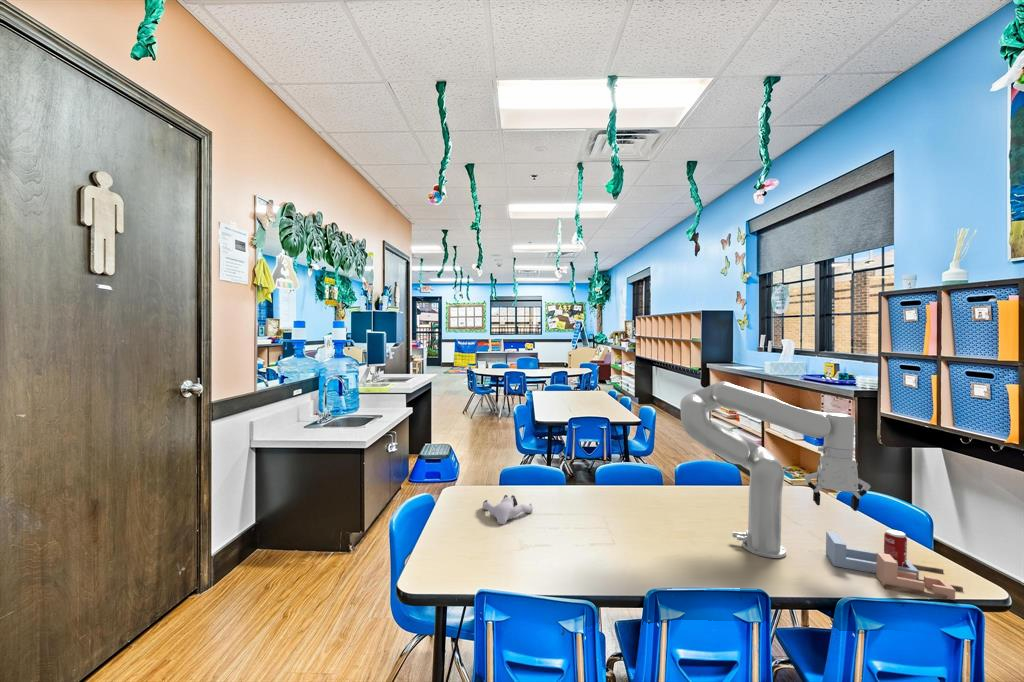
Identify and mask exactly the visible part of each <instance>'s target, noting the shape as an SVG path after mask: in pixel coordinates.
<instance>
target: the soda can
mask: <svg viewBox="0 0 1024 682" xmlns="http://www.w3.org/2000/svg"><path fill="white" fill-rule="evenodd" d="M906 534H907V533H905V532H903V531H900V530H896V529H892V528H891V529H890V528H888V529H886V530H885V532H884V534H883V535H884V538H883V540H884V541H883V553H884V554H890V555H891V556H892V558H893V559H894V560H895V561H896V562H897V563H898V566H900V567H906V559H907V556H908V555H907V553H908V552H907V551H908V538H907V535H906ZM907 560H908V559H907Z"/></svg>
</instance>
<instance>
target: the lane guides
mask: <svg viewBox="0 0 1024 682" xmlns="http://www.w3.org/2000/svg"><path fill="white" fill-rule="evenodd" d="M911 564H912V565H913V566H914V567H915V568H916V569H917V570H921V571H922V570H924V571H929V572H935V573H941V574H944V569H943V568H938V567H932V566H926V565H920V564H914V563H911ZM917 580H918V581H923V582H924V579H921V578H919V579H917ZM950 585H951V586H952V587H953V588H954V589H955V591H959V590H961V591H960V592H964V587H963V586H959V585H953V584H950ZM883 586H884V589H887V590H891V591H896V592H903V593H907V594H912V595H917V596H923V597H928V598H934V599H939V600H945V601H948V599H947V596H946V595H941V594H936V593H932V592H930V591H929V592H928V591H925V590H924V591H920V590H914V589H909V588H903V587H898V586H893V585H887V584H885V585H883Z"/></svg>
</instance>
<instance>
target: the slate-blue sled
mask: <svg viewBox="0 0 1024 682" xmlns="http://www.w3.org/2000/svg"><path fill="white" fill-rule="evenodd" d="M825 532H826V534H825V537H826V538H825V553H826V554H825V555H827V557H828V559H829V560H830V562H831V563H832V565H833V567H839V568H845V569H851V570H855V571H861V572H867V573H871V574H872V573H873V574H876V568H877V552H876V551H870V550H866V549H865V550H864V549H858V548H852V547H847V544H846V543H845V541H844V540H843V539H842V537H841V535H839V533H838V532H833V531H827V530H826V531H825ZM912 564H913V563H911V561H910V560H909V559H906V567H900V566H898V570H899V571H905V572H911V573H915V574H916V575H917V579H920V578H919V576H920V574H919V573H920V572H919V569H916V568H915V567H914V566H913V565H912Z"/></svg>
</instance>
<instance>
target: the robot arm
mask: <svg viewBox="0 0 1024 682" xmlns="http://www.w3.org/2000/svg"><path fill="white" fill-rule="evenodd" d="M679 405H680V422H681V425H682V428H683V430H684V432H685V433H686V434H687V435H688V436H689V437H690V438H691V439H692V440H694V441H695V442H696V443H698V444H700V445H701V446H703V447H705V448H706V449H708V450H709V451H710V452H712V453H714V454H716V455H718V456H719V457H721V458H722V459H723V460H725V461H726V462H728V463H730V464H733V465H740V466H742V467H743V468H744V469H746V470H748V471H749V476H750V477H749V486H748V515H747V516H748V517H747V529H746V530H745V531H743V532H738V531H735V530H732V535H731V536H732V538H736V540H737V541H742V543H741V544H742V545H741V546H742V547H743V548H744V549H745V550H747V551H748V552H749V553H751V554H754V555H757V556H758V557H759V556H760V557H764V558H769V559H780V558H784V557H785V556H786V555H787V550H786V548H785V547H784V546H783V545H781V543H782V541H781V540H782V507H783V506H782V505H783V504H782V503H783V502H782V501H783V489H784V487H783V486H784V481H785V471H784V468H783V465H782V463H781V461H780V460H779V459H778V458H777V456H775V455H774V454H773V453H772V452H771V451H770V450H768V449H766V447H763V446H761V445H760V444H758V443H757V442H755V441H752V440H751V439H749V438H748V437H746V436H744V435H742V434H741V433H738V432H736V431H733V430H732V431H731V430H729V431H727V430H725V429H724V428H722V427H721V426H719V425H717V424H715V423H713V422H711V420H709V419H708V416H707V414H708V413H709V412H712V411H714V410H716V409H717V410H718V409H719V408H723V409H727V410H729V411H732V412H735V413H739V414H742V415H746V416H748V417H751V418H754V419H757V420H760V421H762V422H765V423H768V424H772V425H775V426H778V427H781V428H784V429H787V430H789V431H792V432H796V433H798V434H801V435H803V436H807V437H810V438H815V439H821V438H823V445H822V446H818V448H817V451H818V452H821V453H822V454H820V457H819V461H818V464H817V471H816V472H812V473H810V474H805V475H804V476H803V477H804V481H805V482H806V484H807V485H808V487H810V489H811V490H813V492H812V493H813V494H812V495H813V496H812V501H813V502H814V503H815V504H816V505H817V506H820V505H821V492H820V491H821V490H822V489H825V490H826V489H827V490H833V491H839V492H847V493H852V495H851V498H850V499H851V500H850V508H851V509H852V510H853V511H854V512H858V509H859V508H860V499H861V498H862V497H863V496H865V495H867V492H868V491H869V490H870V489H871V487H872V486H871V485H870V483H868V482H866V481H864V480H862V478H859V474H858V473H859V472H858V465H857V459H855V458H853V455H854V439H855V436H854V435H855V419H854V417H853V416H852V415H850V414H846V413H840V412H839V413H838V412H822V411H819V410H812V409H803V408H800V407H797V406H794V405H791V404H789V403H786V402H784V401H781V400H779V399H777V398H776V397H773V396H770V395H768V394H765V393H762V392H758V391H756V390H755V391H754V390H752V389H748V388H745V387H743V386H739V385H735V384H733V383H731V382H728V381H723V380H722V381H718V382H715V383H713V384H711V385H708V386H706V387H703V388H701V389H698V390H696V391H693V392H690V393H687V394H686V395H685V396H684V397H683V398H682V399H681V400H680V404H679ZM812 479H816V483H815V484H813V482H812ZM859 485H861V486H862V488H859Z"/></svg>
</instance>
